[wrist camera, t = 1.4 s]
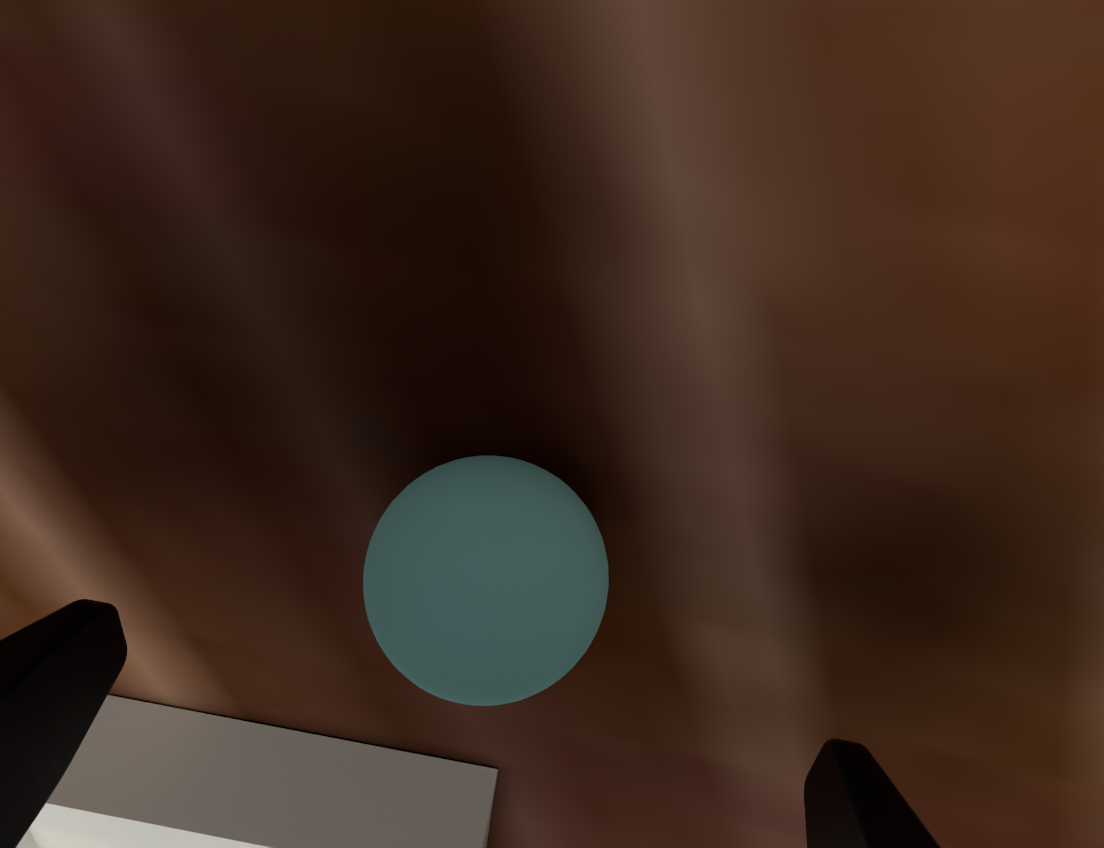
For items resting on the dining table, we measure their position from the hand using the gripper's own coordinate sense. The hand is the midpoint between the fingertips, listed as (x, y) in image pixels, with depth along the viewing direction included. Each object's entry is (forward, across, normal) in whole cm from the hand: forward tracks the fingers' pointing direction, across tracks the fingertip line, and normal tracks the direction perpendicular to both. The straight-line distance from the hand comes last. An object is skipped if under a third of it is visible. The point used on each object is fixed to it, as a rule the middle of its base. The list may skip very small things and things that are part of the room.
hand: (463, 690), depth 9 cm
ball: (+4, 0, 0) cm, 4 cm away
